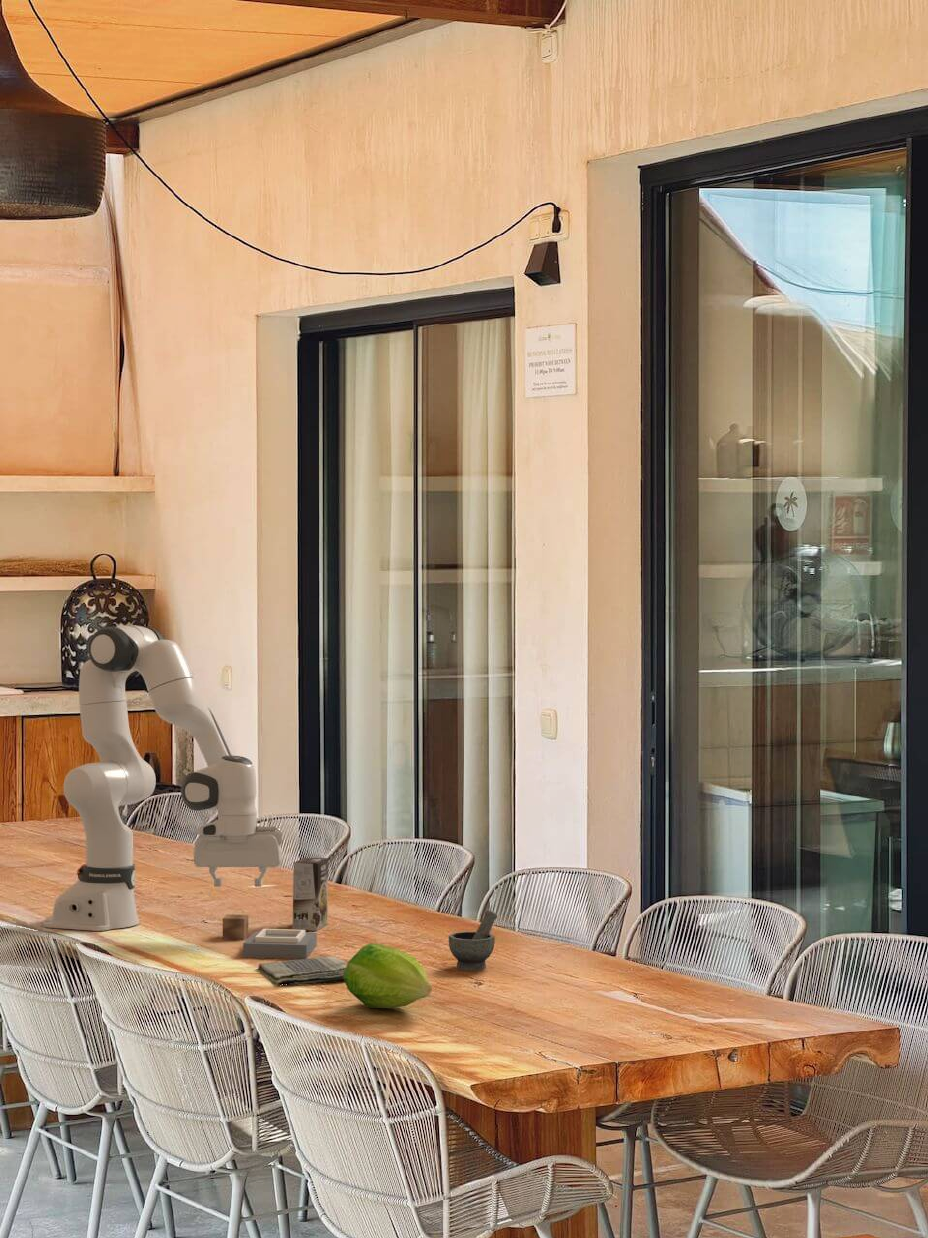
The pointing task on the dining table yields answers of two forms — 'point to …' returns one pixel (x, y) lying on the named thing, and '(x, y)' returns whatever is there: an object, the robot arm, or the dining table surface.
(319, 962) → the dish towel
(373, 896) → the dining table surface
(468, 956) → the mortar and pestle
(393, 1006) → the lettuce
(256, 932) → the plinth
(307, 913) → the coffee box
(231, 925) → the walnut block
